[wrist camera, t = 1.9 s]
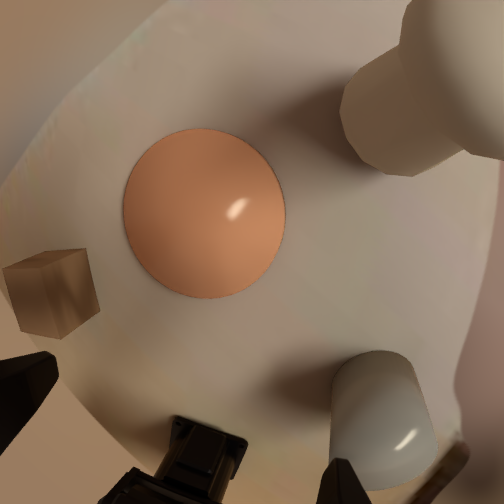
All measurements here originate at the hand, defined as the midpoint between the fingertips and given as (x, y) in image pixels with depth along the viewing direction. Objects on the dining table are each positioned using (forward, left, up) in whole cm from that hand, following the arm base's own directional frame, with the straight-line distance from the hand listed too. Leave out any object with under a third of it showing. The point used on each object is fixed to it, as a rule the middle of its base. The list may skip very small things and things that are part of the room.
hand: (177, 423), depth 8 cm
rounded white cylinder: (-5, -10, -12) cm, 16 cm away
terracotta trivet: (+3, +4, -12) cm, 13 cm away
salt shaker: (+11, -5, -12) cm, 17 cm away
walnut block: (-5, +14, -12) cm, 19 cm away
